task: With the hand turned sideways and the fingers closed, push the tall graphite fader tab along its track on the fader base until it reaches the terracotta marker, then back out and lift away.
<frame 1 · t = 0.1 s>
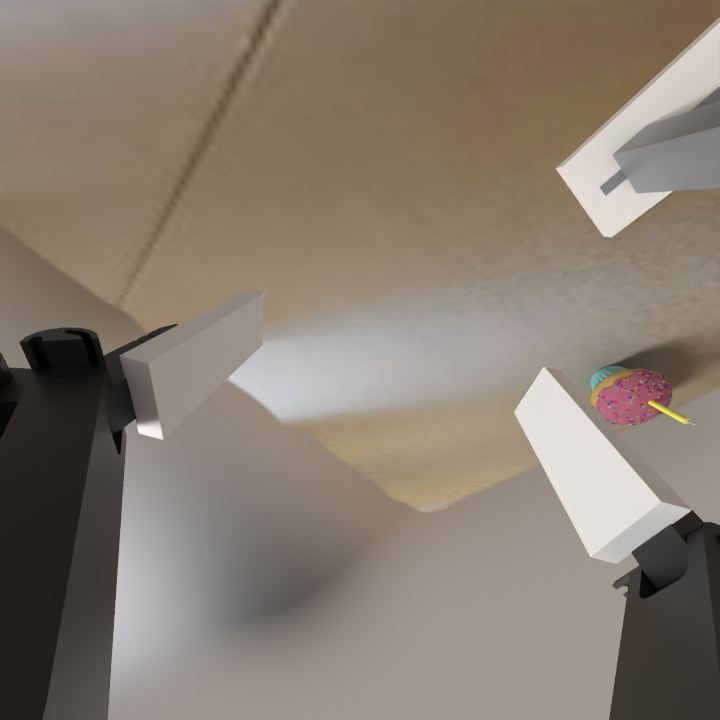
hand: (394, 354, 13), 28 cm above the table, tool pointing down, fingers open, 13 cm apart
fader base: (719, 87, 26), on the table
fader tab: (699, 149, 22), point 8 cm above the table, slide at -8.0 cm
cupcake: (607, 379, 42), on the table
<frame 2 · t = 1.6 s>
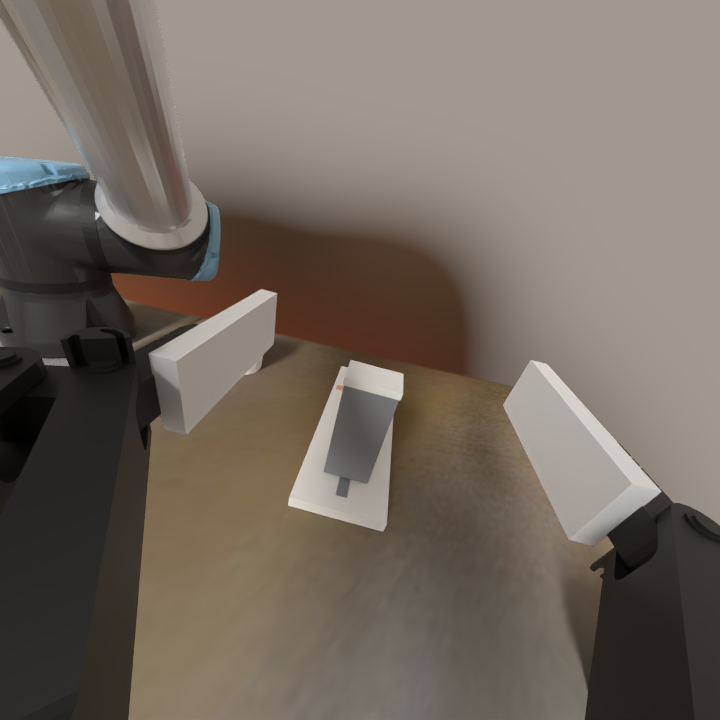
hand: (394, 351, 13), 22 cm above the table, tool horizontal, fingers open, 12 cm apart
fader base: (355, 429, 40), on the table
fader tab: (360, 426, 28), point 8 cm above the table, slide at -8.0 cm
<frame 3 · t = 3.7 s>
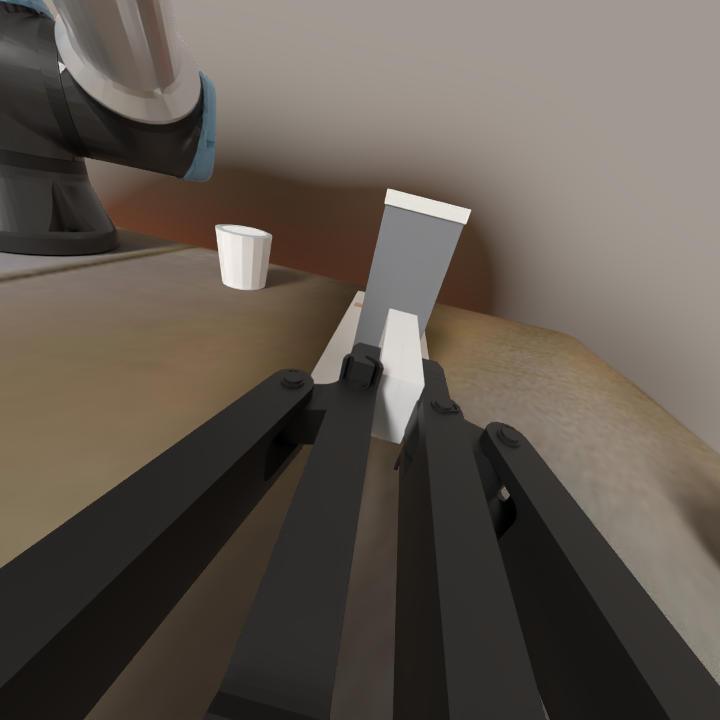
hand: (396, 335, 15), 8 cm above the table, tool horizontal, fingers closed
white cup: (244, 284, 40), on the table
fader base: (380, 343, 32), on the table
fader tab: (399, 293, 21), point 8 cm above the table, slide at -8.0 cm
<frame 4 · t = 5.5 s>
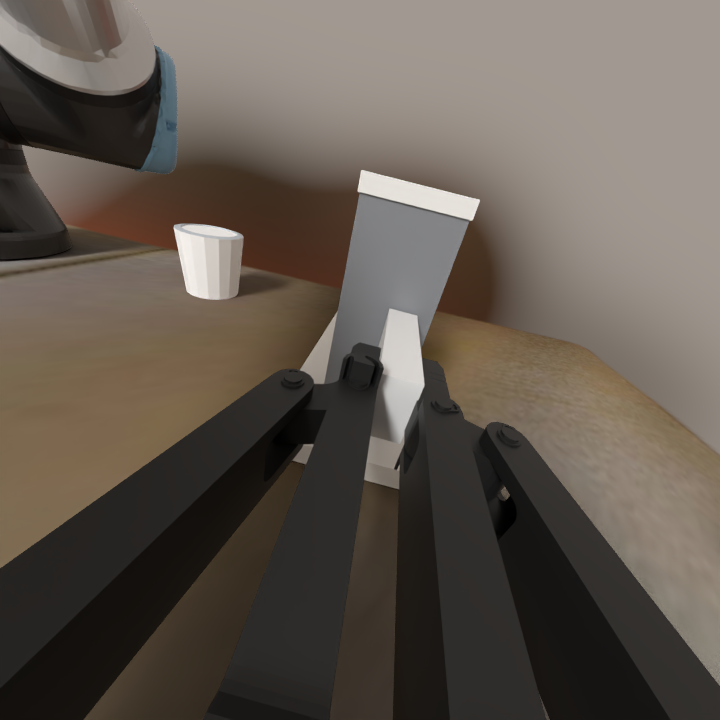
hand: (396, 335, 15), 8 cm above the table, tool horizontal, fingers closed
white cup: (213, 292, 34), on the table
fader base: (367, 363, 27), on the table
fader tab: (384, 312, 16), point 8 cm above the table, slide at -7.9 cm, touching gripper
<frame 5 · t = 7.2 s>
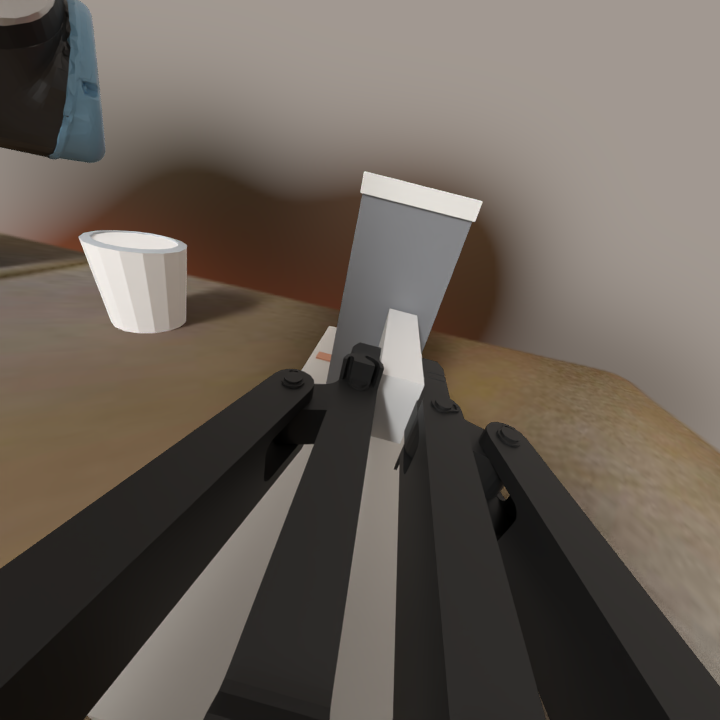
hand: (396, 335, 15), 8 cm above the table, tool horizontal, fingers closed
white cup: (151, 321, 26), on the table
fader base: (352, 435, 19), on the table
fader tab: (386, 312, 16), point 8 cm above the table, slide at 1.9 cm, touching gripper
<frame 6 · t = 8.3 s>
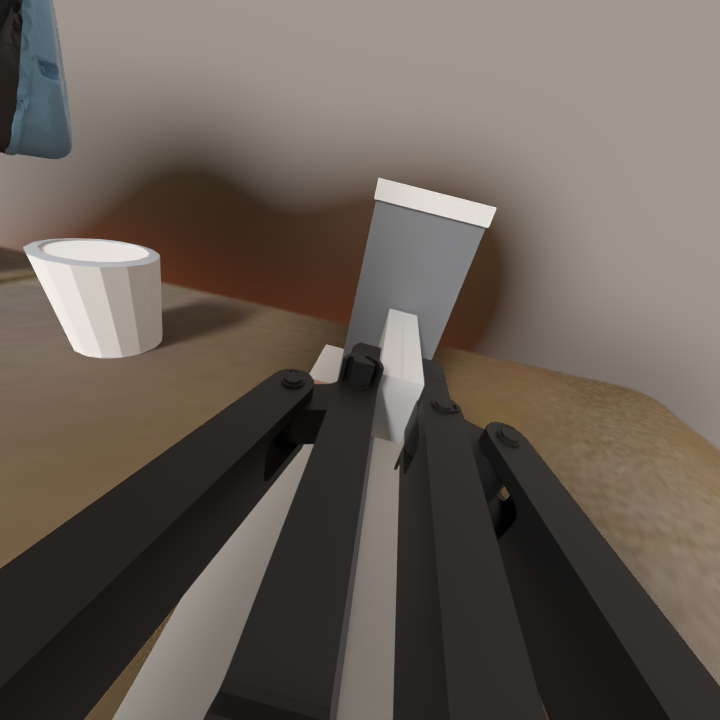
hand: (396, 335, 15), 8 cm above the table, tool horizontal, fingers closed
white cup: (120, 341, 23), on the table
fader base: (351, 491, 15), on the table
fader tab: (396, 317, 16), point 8 cm above the table, slide at 6.0 cm, touching gripper
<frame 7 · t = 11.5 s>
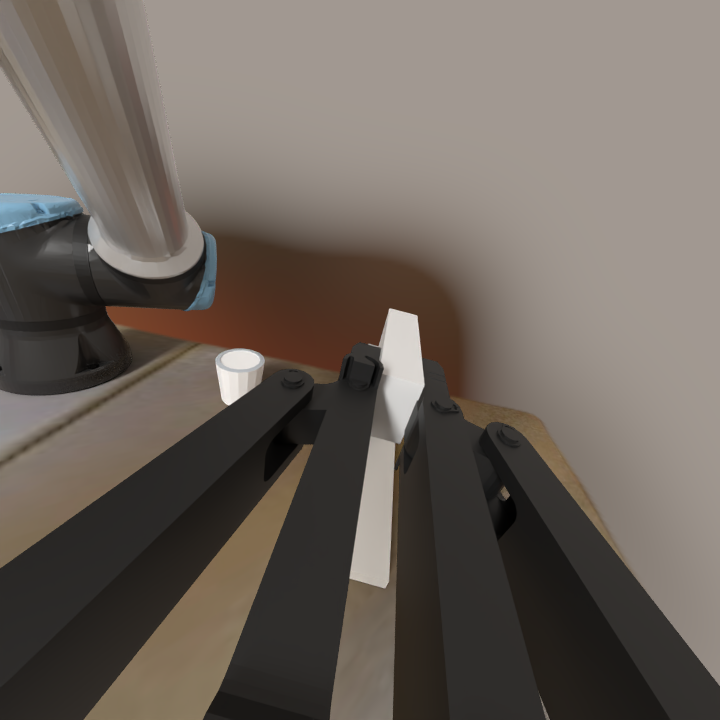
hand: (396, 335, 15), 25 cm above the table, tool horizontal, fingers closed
white cup: (240, 396, 45), on the table
fader base: (355, 466, 38), on the table
fader tab: (374, 392, 40), point 8 cm above the table, slide at 6.3 cm
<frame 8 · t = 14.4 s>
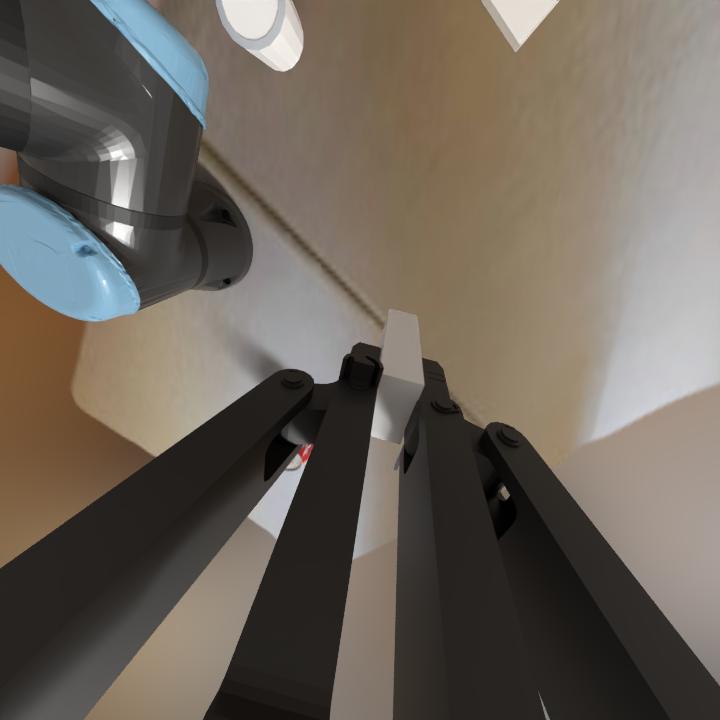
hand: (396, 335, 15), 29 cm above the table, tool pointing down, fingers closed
white cup: (280, 38, 32), on the table
soda can: (307, 414, 58), on the table
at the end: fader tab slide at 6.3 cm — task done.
